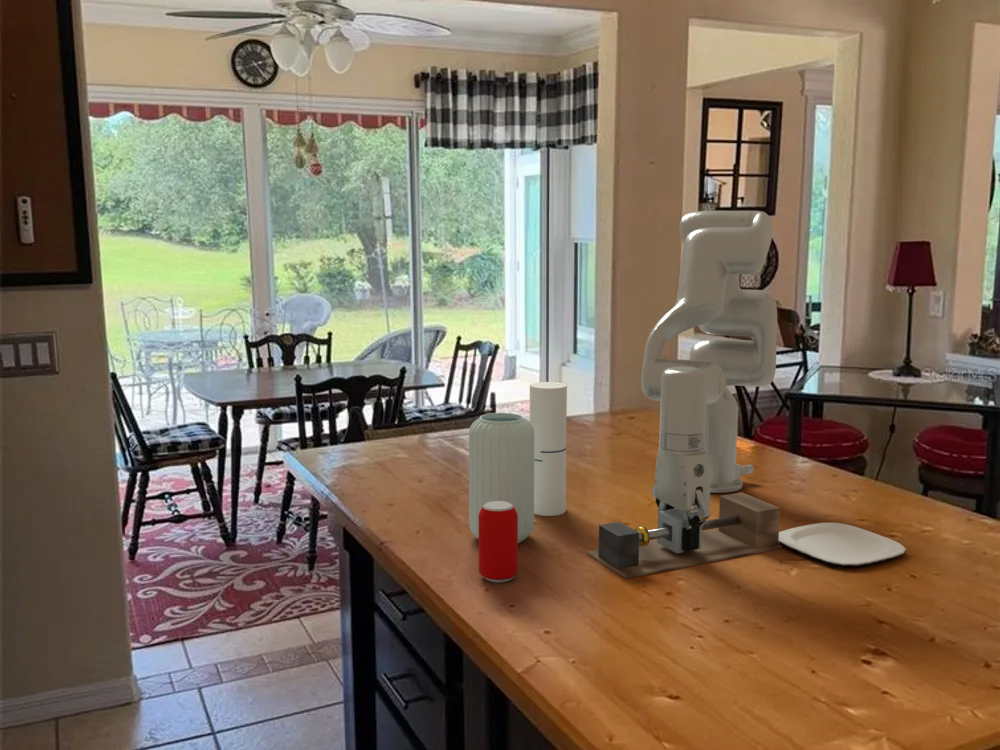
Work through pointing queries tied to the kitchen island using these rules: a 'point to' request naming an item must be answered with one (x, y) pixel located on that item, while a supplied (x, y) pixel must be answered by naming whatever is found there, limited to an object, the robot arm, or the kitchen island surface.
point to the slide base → (716, 544)
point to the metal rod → (667, 531)
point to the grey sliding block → (673, 529)
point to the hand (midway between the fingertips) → (678, 542)
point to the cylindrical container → (549, 446)
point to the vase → (502, 467)
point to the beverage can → (498, 541)
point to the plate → (840, 544)
